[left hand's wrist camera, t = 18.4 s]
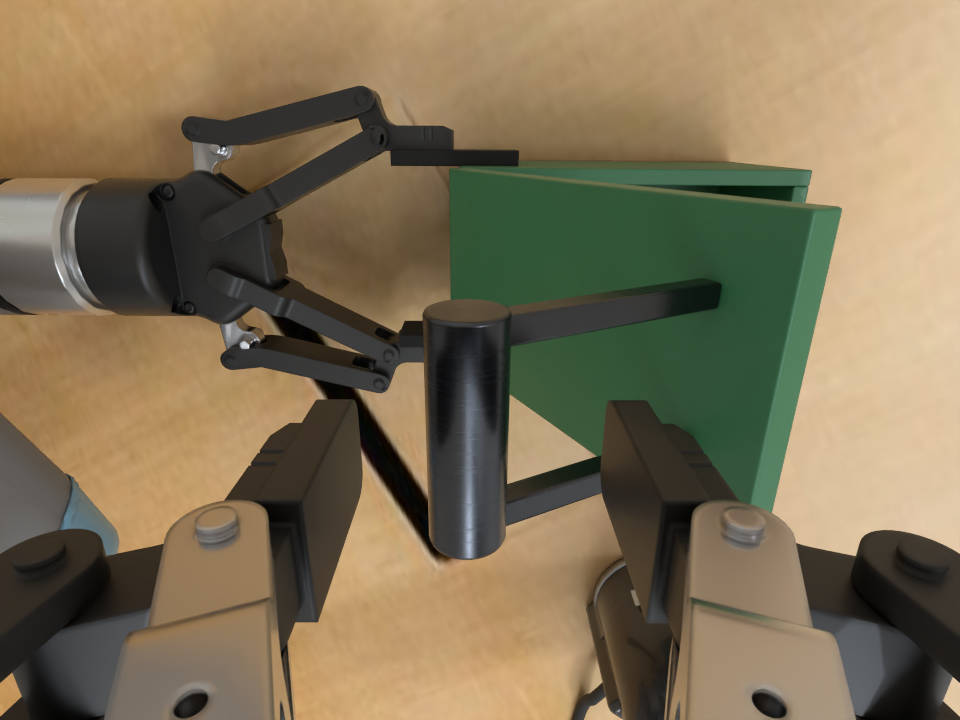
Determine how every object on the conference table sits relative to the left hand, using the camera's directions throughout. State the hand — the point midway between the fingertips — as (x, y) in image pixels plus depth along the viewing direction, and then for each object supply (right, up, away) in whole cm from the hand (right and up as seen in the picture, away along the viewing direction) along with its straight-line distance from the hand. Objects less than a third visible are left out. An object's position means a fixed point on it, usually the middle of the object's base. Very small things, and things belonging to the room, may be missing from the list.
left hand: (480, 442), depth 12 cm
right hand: (+2, +8, +20) cm, 22 cm away
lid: (+4, +4, +10) cm, 11 cm away
